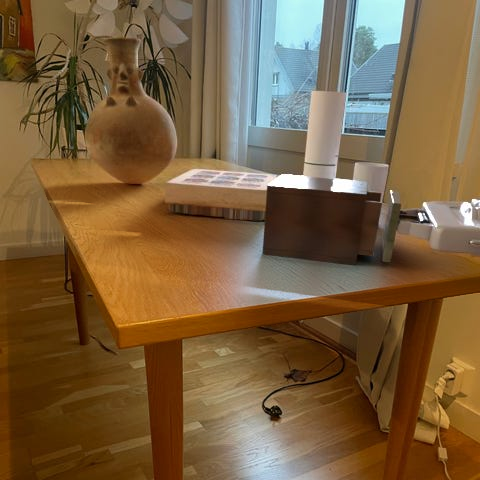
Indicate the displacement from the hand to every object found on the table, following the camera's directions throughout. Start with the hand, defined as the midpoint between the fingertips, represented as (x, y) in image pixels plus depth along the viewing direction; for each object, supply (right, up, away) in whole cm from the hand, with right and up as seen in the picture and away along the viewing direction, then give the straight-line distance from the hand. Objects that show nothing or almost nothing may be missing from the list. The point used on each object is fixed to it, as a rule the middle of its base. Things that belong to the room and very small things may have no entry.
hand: (396, 220), depth 76 cm
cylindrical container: (-8, +8, +33) cm, 35 cm away
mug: (+2, +5, +27) cm, 28 cm away
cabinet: (-13, -4, +6) cm, 14 cm away
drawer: (-4, -4, +3) cm, 7 cm away
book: (-30, +11, +36) cm, 48 cm away
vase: (-55, +22, +56) cm, 81 cm away
